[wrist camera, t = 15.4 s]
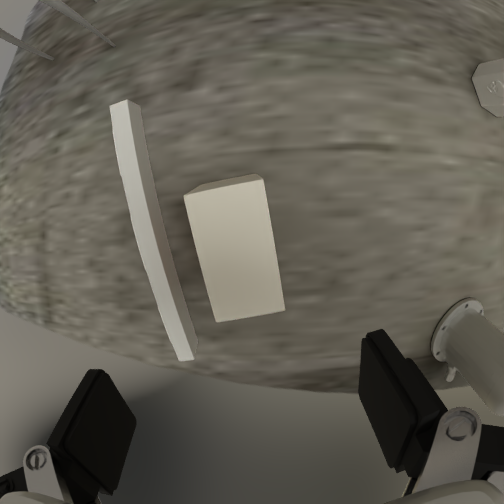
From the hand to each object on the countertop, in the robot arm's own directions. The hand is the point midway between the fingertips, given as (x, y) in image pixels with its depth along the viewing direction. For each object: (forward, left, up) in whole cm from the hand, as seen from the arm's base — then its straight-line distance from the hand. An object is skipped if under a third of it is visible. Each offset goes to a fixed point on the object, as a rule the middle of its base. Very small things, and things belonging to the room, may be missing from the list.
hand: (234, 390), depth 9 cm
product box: (0, 0, -24) cm, 24 cm away
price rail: (+1, +9, -24) cm, 25 cm away
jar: (+16, -42, -24) cm, 51 cm away
